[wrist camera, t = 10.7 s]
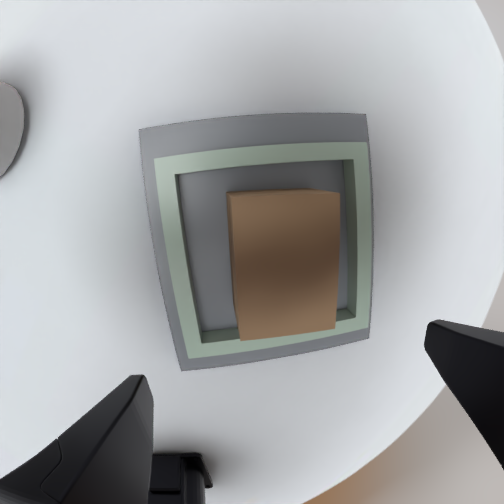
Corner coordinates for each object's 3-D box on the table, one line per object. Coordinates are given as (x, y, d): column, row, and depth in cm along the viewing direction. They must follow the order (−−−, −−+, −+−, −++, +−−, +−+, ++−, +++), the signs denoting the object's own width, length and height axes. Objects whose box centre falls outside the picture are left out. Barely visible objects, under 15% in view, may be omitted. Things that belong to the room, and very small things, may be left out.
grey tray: (363, 332, 22) (377, 348, 20) (182, 363, 21) (179, 384, 18) (359, 116, 18) (377, 110, 16) (142, 131, 17) (132, 125, 14)
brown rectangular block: (309, 296, 20) (335, 328, 15) (233, 304, 19) (240, 341, 15) (309, 188, 18) (339, 193, 14) (226, 191, 17) (231, 197, 13)
